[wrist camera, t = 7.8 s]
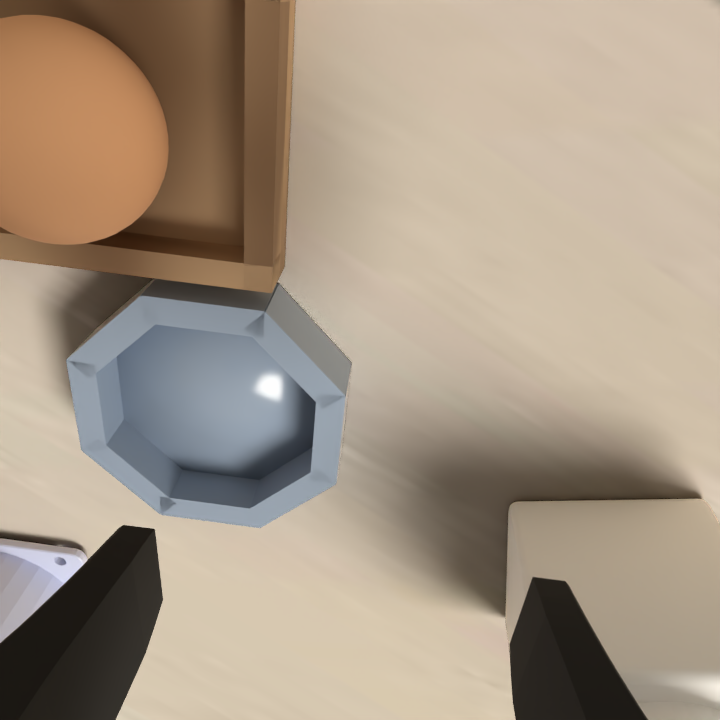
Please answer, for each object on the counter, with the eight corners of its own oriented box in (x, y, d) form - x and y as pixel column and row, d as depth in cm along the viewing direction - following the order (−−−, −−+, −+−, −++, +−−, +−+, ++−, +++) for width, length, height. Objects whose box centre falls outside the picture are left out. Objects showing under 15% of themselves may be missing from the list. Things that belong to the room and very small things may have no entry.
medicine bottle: (504, 620, 27) (555, 1005, 17) (507, 497, 24) (575, 892, 13) (677, 621, 26) (842, 1028, 16) (708, 493, 23) (946, 913, 12)
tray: (-31, 226, 20) (-74, 249, 18) (-102, -84, 15) (-168, -93, 14) (284, 266, 19) (271, 293, 18) (297, -37, 15) (281, -40, 14)
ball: (30, 202, 18) (-90, 265, 14) (-10, 4, 16) (-171, 6, 11) (200, 217, 18) (133, 286, 14) (188, 20, 15) (100, 28, 11)
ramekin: (113, 468, 24) (90, 505, 23) (84, 258, 20) (52, 284, 18) (336, 498, 24) (330, 537, 23) (359, 293, 20) (353, 322, 18)
